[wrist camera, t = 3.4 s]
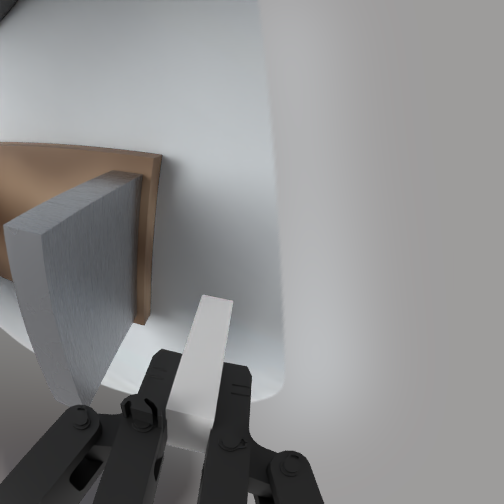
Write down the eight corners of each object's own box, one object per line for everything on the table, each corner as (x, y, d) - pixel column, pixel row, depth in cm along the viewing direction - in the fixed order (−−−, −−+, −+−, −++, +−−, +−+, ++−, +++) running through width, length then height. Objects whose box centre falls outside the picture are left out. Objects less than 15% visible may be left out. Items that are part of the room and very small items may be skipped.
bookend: (112, 170, 15) (3, 224, 7) (142, 174, 15) (40, 235, 7) (112, 307, 20) (55, 400, 11) (137, 314, 20) (85, 413, 12)
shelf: (-30, 142, 15) (-41, 145, 14) (162, 154, 16) (153, 158, 15) (-20, 256, 20) (-28, 263, 19) (150, 313, 22) (144, 325, 20)
